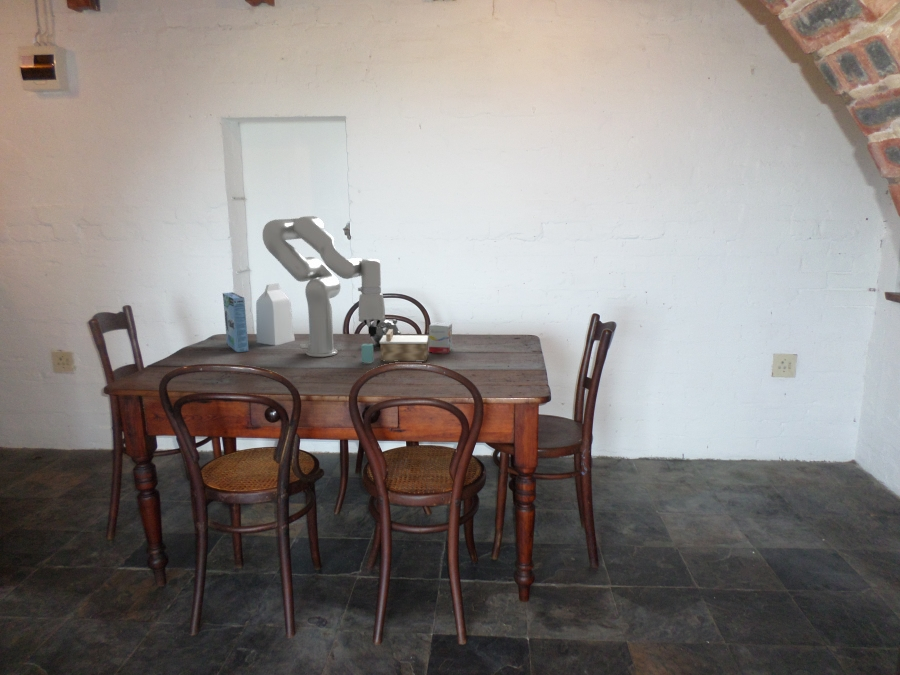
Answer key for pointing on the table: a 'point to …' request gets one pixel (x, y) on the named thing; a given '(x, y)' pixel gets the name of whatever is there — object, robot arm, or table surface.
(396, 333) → the piggy bank
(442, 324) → the ink box
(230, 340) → the blue cereal box
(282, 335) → the milk
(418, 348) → the tan open box
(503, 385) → the table surface
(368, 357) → the block
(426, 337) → the lid
